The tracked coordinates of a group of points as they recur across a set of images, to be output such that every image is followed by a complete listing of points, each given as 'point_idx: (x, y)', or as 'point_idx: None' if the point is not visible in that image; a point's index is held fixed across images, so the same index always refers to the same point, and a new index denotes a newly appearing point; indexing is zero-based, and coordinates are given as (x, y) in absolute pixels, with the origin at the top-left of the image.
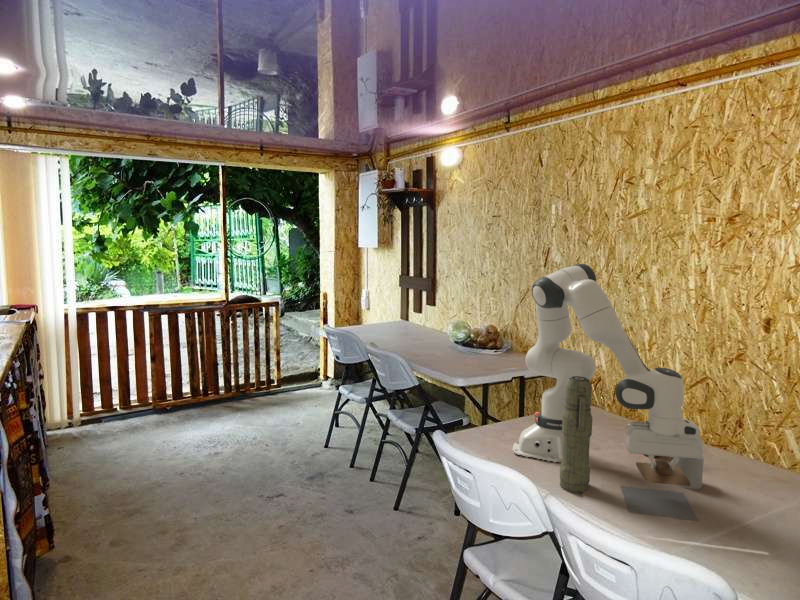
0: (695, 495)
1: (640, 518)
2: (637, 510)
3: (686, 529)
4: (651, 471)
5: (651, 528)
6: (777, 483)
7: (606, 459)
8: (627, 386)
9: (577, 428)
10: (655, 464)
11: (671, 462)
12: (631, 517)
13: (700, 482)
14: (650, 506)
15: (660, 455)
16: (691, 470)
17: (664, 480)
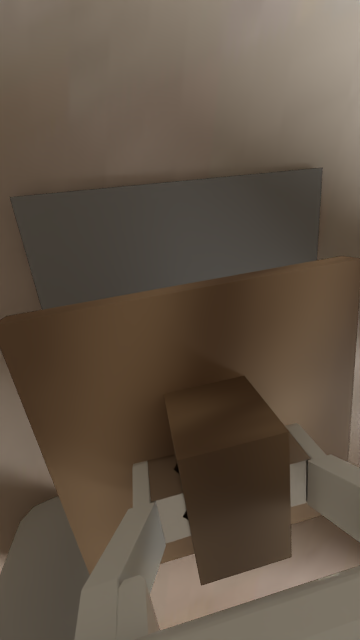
0: (38, 469)
1: (275, 143)
2: (283, 203)
3: (74, 92)
4: (283, 415)
5: (242, 34)
6: None
7: (305, 575)
8: None
9: None
10: (300, 458)
11: (157, 549)
12: (311, 138)
13: (10, 552)
14: (223, 271)
15: (349, 573)
16: (30, 600)
17: (216, 284)
